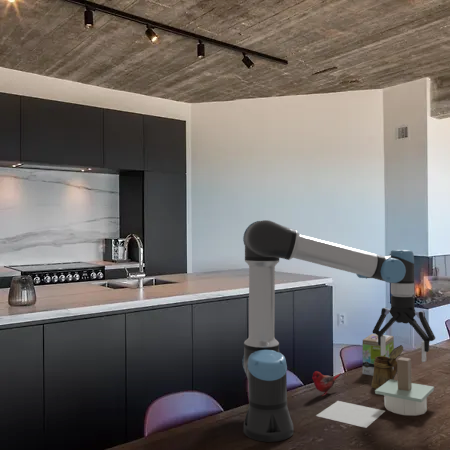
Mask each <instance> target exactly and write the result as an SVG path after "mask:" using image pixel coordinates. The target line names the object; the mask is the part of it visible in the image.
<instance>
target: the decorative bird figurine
mask: <svg viewBox="0 0 450 450" xmlns="http://www.w3.org/2000/svg"><path fill="white" fill-rule="evenodd" d="M341 375H342V373H341V372H340V373H338V374H337V375H335V376H331V375H324V374H322V373H321V372H320V371H318V370H316V371H314V372H313V373H312V377H311V379H312V380H313V384H314V386H315V389H316V390H318V391H319V392H320V393H321V392H322V393H323V394H321V397H323V396H325V395H328V394H329V393H328V391H329V390H330V389H331V388H332V387H333V386H334V385H335V382H336V380H337V379H338V378H339V377H340V376H341Z"/></svg>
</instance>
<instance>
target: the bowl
mask: <svg viewBox="0 0 450 450" xmlns="http://www.w3.org/2000/svg"><path fill="white" fill-rule="evenodd" d="M383 396H384V397H383V401H384V402H383V403H384V405H383V406H384V407H385V409H386V410H387V411H389V412H392V413H394V414H397V415H401V416H415V417H416V416H420V415H424V414H426V412H427V411H428V408H427V407H428V405H427V404H428V401H427V398H428V397H426V398H425V399H424V400H423V401H422V402H416V401H411V400H406V399H401V398H396V397H391V396H385V395H383Z"/></svg>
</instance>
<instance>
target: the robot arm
mask: <svg viewBox="0 0 450 450" xmlns="http://www.w3.org/2000/svg"><path fill="white" fill-rule="evenodd" d="M242 240H243V245H244V262H245V263H246V264H247V265H248V281H249V282H248V338H247V339H245V340H244V342H243V345H244V347H243V348H244V349H243V350H244V351H243V353H244V354H243V357H242V367H243V370H244V373H245V376H246V377H247V381H248V408H247V411H246V415H245V418H244V420H243V421H244V422H243V433H244V436H246V437H248V438H249V439H251V440H253V441H259V442H267V443H270V442H271V443H275V442H280V441H285V440H287V439H289V438H291V437H292V436H293V434H294V423H293V420H292V418H291V414H290V411H289V408H288V395H287V394H288V392H287V391H288V390H287V389H288V388H287V386H288V385H287V384H288V383H287V382H288V381H287V370H288V366H287V361H286V357H285V355H284V354H282V353H281V352H280V342H279V341H278V340H277V339H276V338H275V318H276V317H275V315H276V314H275V308H276V307H275V301H276V300H275V299H276V298H275V297H276V296H275V295H276V293H275V290H276V289H275V287H276V286H275V285H276V282H275V280H276V276H275V275H276V274H275V273H276V271H275V270H276V265H277V264H279V263H280V259H283V260H288V261H290V260H292V259H297V260H299V261H305V262H307V263H311V264H312V263H313V264H317V265H320V266H324V267H327V268H328V267H329V268H332V269H336V270H340V271H345V272H348V273H352V274H355V275H356V277H358V278H359V279H366V280H367V279H375V280H379V281H383V282H385V283H388V284H389V283H390V294H391V296H390V308H388V307H387V306H385V307H382V308H381V310H380V311H381V313H380V316H379V317H378V319H377V322H376V323H375V326H374V327H373V329H372V331H371V332H372V334H377V335H378V345H381V356H384V355H385V354H386V336H385V333H386V332H387V331H388V330H389V329H390V328H391V326H392V325H394V323H395V322H396V323H397V324H399V323H401V324H409V325H410V326H411V327H412V328H413V330H414V331H416V333H417V334H418V336H420V338H421V339H422V340H423V341H421V362H422V363H425V362H427V353H428V352H430V342H433V341H434V340H436V336H435V334H434V332H433V330H432V328H431V326H430V324H429V322H428V321H427V318H426V312H425V311H424V310H420V311H416V310H415V296H414V295H415V256H414V252H413V251H412V250H411V249H391V250H390V254H389V255H381V254H377V253H373V252H369V251H367V250H366V251H365V250H361V249H357V248H353V247H349V246H345V245H342V244H339V243H335V242H330V241H326V240H322V239H319V238H316V237H311V236H308V235H303V234H300V233H299V232H298V230H297V229H293V228H290V227H287V226H285V225H281V224H279V223H276V222H274V221H272V220H269V219H268V220H257V221H254V222H252V223H251V224H249V225H248V227H246V229H245V231H244V234H243V237H242ZM388 314H390V315H391V318H390V319H389V321H387V323H386V324H385V325H384V326H383V327H382V325H383V323H384V322H385V320H386V317H387V315H388ZM415 316H417V318H418V319H419V320H420V322H421V325H422V327H423V329H424V330H423V329H422V327H421V326H420V325H419V323H418V322H417V321H416V319H415V318H414V317H415ZM381 327H382V328H381Z"/></svg>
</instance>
